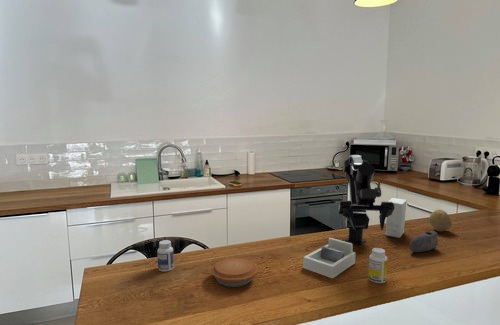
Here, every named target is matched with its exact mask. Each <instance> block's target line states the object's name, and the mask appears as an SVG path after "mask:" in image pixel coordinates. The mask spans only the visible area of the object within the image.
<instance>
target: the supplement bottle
mask: <svg viewBox="0 0 500 325" xmlns="http://www.w3.org/2000/svg"><path fill="white" fill-rule="evenodd" d="M387 273H388V256H387V255H386V250H385V249H383V248H380V247H374V248H372V250H371V253H370V254H369V257H368V274H367V275H368V280H369V281H371V282H372V283H376V284H384V283H386V281H387Z"/></svg>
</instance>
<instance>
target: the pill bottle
mask: <svg viewBox="0 0 500 325" xmlns="http://www.w3.org/2000/svg"><path fill="white" fill-rule="evenodd" d="M158 246H159V247H158V249H157V267H158V268H157V269H158V270H159V271H161V272H163V273H164V272H170V271H171V270H174V268H175V264H174V263H175V262H174V248H173V246H172V242H171V240H168V239H166V240H165V239H164V240H160V241H159V243H158Z"/></svg>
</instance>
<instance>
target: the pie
mask: <svg viewBox="0 0 500 325" xmlns="http://www.w3.org/2000/svg"><path fill="white" fill-rule="evenodd" d="M258 271H259V268H258V266H257V264H256V263H254V262H253V261H251V260H248V259H244V258H239V257H238V258H237V257H236V258H235V257H231V258H226V259H222V260H220V261H218V262H216V263H214V264H213V265H212V266H211V268H210V272H211V275H212V276H213V277H214V278H215V280H216V281H217V282H218V283H219V285H222V286H225V287H227V288H228V287H229V288H238V287H243V286H245V285H248V284H249V283H250V282H251V281H252V279H253V278H254V277H255V275H257V273H258Z"/></svg>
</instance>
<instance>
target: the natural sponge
mask: <svg viewBox="0 0 500 325" xmlns="http://www.w3.org/2000/svg"><path fill="white" fill-rule="evenodd" d="M428 222H429V224H430V225H431V226H432V228H433V229H434V231H436V232H444V231H447V230H449V229H451V228H452V226H453V223H452V219H451V218H450V215H449V214H448V213H447V212H446V211H445V210H443V209H435V210H434V211H432V213H430V215H429V217H428Z"/></svg>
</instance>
